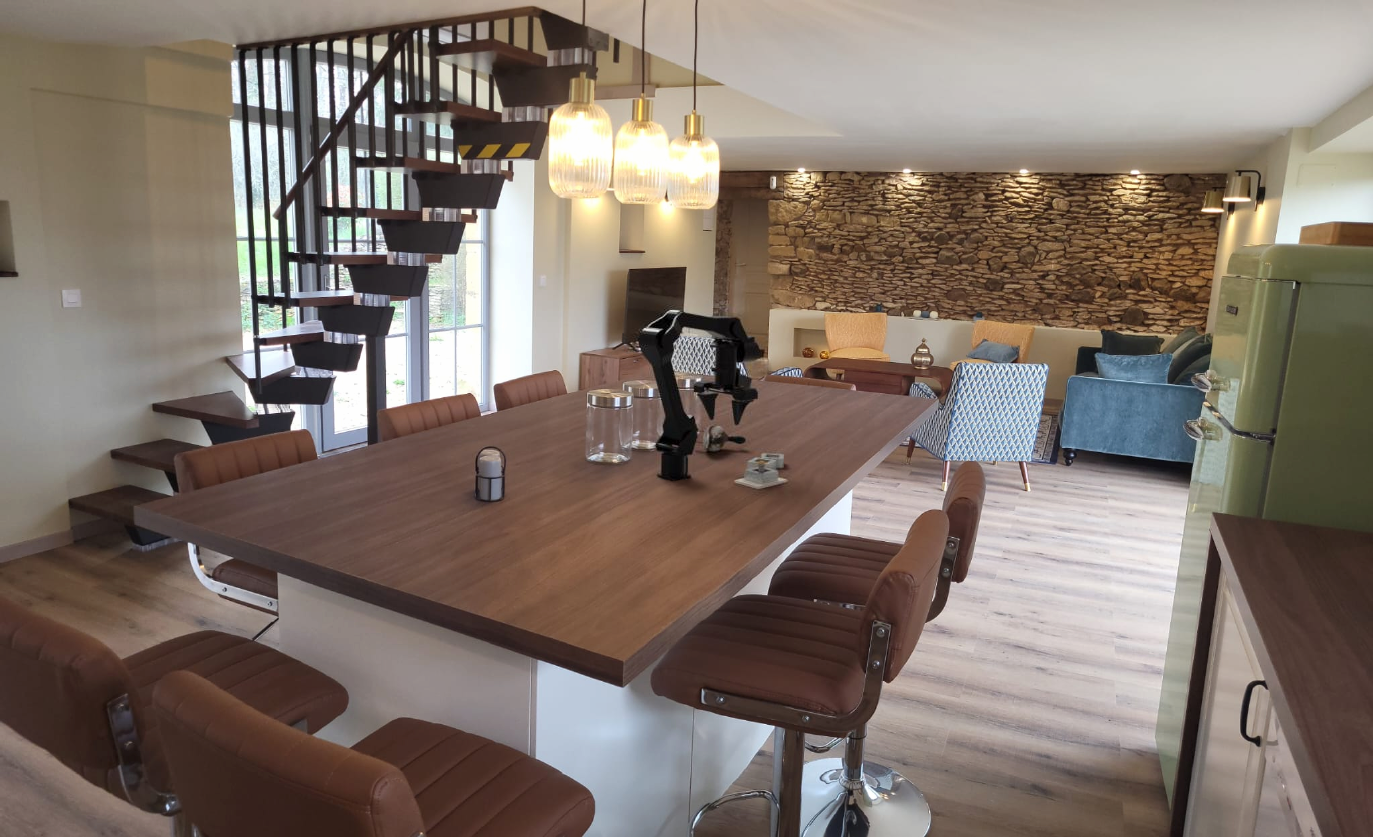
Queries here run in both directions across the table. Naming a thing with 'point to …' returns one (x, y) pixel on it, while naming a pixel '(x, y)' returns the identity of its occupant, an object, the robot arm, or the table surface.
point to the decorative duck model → (717, 438)
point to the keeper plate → (756, 485)
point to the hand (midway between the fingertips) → (724, 422)
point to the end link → (761, 475)
